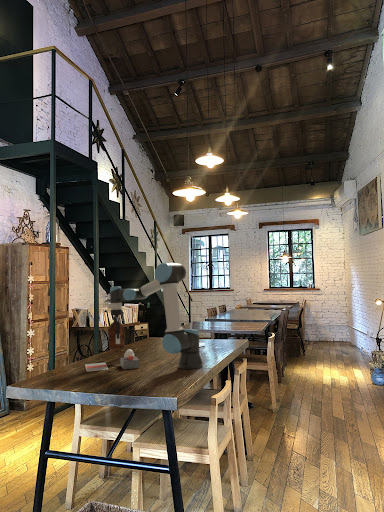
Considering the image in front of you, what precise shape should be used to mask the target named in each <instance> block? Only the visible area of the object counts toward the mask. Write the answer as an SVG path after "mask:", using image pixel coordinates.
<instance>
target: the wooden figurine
mask: <svg viewBox="0 0 384 512" xmlns="http://www.w3.org/2000/svg"><path fill="white" fill-rule="evenodd" d="M115 323H116V322H115ZM115 323H114V321H112V322H111V323H110V325H109V327H108V328H107V334H108V341H107V342H108V347H109V350H120V349H124V348H125V347H126V346H125V337H126V335H125V328H124V325H123V324H122V323H121V322H120V344H116V334H115V333H116V326H115Z"/></svg>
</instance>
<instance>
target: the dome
mask: <svg viewBox="0 0 384 512" xmlns="http://www.w3.org/2000/svg"><path fill="white" fill-rule="evenodd" d="M128 356H133V358H134V357H135V353H134V351H133V350H132V349H131V348H130V349H129V348H128V349H127V350H125V352H124V353H123V358H124V359H128Z"/></svg>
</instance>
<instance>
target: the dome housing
mask: <svg viewBox="0 0 384 512" xmlns="http://www.w3.org/2000/svg"><path fill="white" fill-rule="evenodd" d="M120 367H121V369H122V370H130V369H132V370H133V369H139V368H140V358H138V357H137V356H134V358H133V356H128V359H124V357H120Z"/></svg>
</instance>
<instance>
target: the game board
mask: <svg viewBox="0 0 384 512" xmlns="http://www.w3.org/2000/svg"><path fill="white" fill-rule="evenodd" d="M84 365H85V370H86V371H85V372H94V371H96V372H97V371H105V370H109V368H108V366H107V364H106V362H99V363H98V362H97V363H96V362H95V363H87V364H84Z"/></svg>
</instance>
